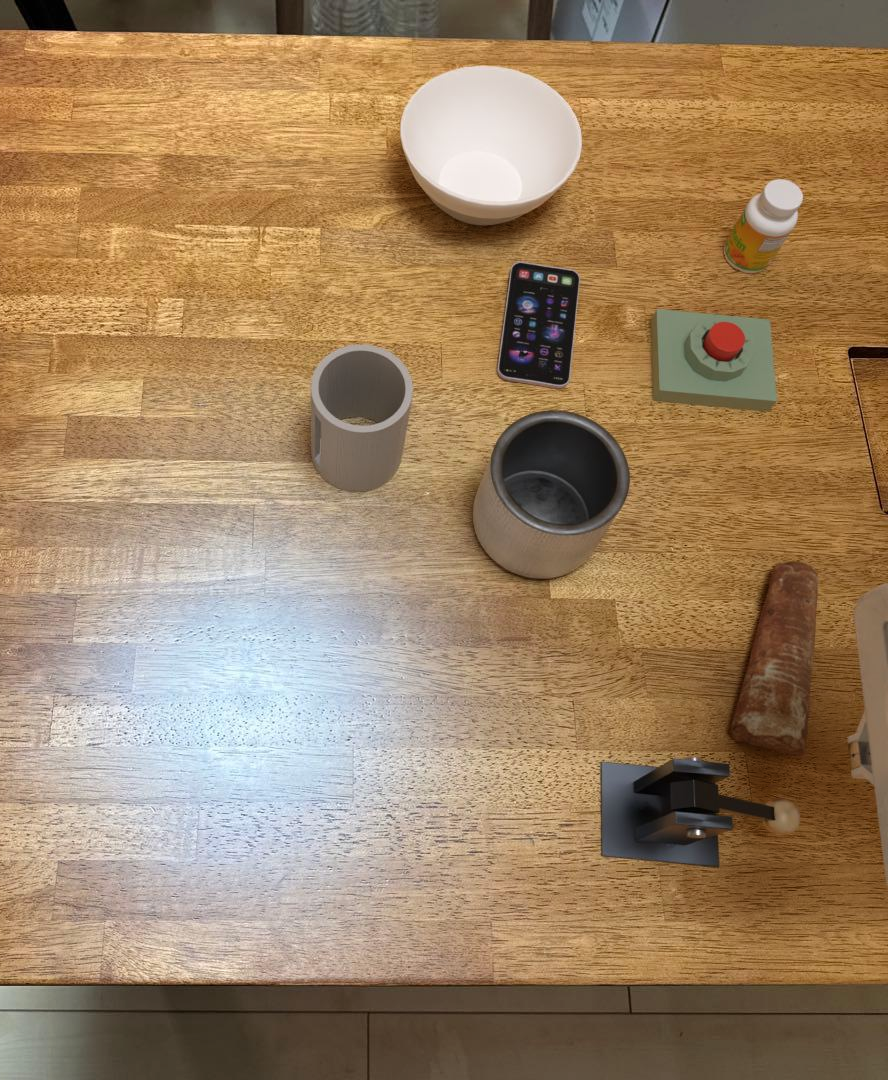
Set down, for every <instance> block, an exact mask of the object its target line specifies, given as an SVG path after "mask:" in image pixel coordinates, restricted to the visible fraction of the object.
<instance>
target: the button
mask: <svg viewBox="0 0 888 1080" xmlns="http://www.w3.org/2000/svg"><path fill="white" fill-rule="evenodd" d="M744 343H745V335H744V333H743V331H742V330H741V329H740V328H739V327H738V326H737V325H735V324H733V323H730V322H719V323H716V324H715V325H713V326H712V328H711V329H710V331H709V332H708V334H707V336H706V337H705V339H704V349H705V351H706V352H707V354H708V355H709V356H711V357H712V358H714V359H716V360H719V361H728V360H731V359H733V358H735V357H736V355H737V354H738V353H739V351H740V350H741V348H742V347H743V345H744Z"/></svg>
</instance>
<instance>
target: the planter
mask: <svg viewBox="0 0 888 1080" xmlns="http://www.w3.org/2000/svg"><path fill="white" fill-rule="evenodd" d="M630 473H631V472H630V467H629V463H628V460H627V456H626V454H625V452H624V450H623V448H622V447H621V445H620V443H619V442H618V441H617V440H616V439H615V437H614V436H613V435H612V434H611V433H610V432H609V431H608V430H607V428H605V427H603V426H602V425H601V424H599V423H597V422H596V421H594V420H593V419H591V418H589V417H587V416H585V415H581V414H579V413H576V412H572V411H568V410H559V409H558V410H557V409H549V410H548V409H547V410H540V411H535V412H532V413H529V414H526V415H524V416H522V417H520V418H518V419H516V420H515V421H513V422H512V423H511V424H509V425H508V426H507V427H505V429H504V430H503V432H502V433H501V434H500V436H499V437H498V438H497V440H496V442H495V444H494V446H493V449H492V452H491V453H490V457H489V459H488V462H487V465H486V468H485V471H484V473H483V476H482V478H481V481H480V483H479V486H478V489H477V491H476V494H475V496H474V500H473V505H472V523H473V529H474V532H475V535H476V537H477V540H478V542H479V544H480V545H481V547H482V549H483V550H484V551H485V553H486V554H487V555H488V556H489V558H491V559H492V560H493V561H494V562H495V563H497V565H499V566H500V567H502V568H504V569H505V570H507V571H508V572H510V573H513V574H514V575H515V574H516V575H518V576H520V577H521V576H522V577H525V578H530V579H536V580H537V579H538V580H539V579H540V580H542V579H543V580H544V579H545V580H547V579H554V578H559V577H562V576H565V575H567V574H570V573H572V572H574V571H575V570H578V568H580V567H581V566H583V564H585V563H586V562H587V561H588V560H589V559H590V558H591V556H592V555H593V554H594V553H595V551H596V550H597V548H598V546H599V545H600V543H601V541H602V540H603V538H604V537H605V535H606V534H607V531H608V530H609V529H610V527H611V525H612V524H613V522H614V521H615V519H616V518H617V516H618V514H619V513H620V512H621V510H622V508H623V506H624V504H625V502H626V500H627V498H628V495H629V490H630V484H631V474H630Z"/></svg>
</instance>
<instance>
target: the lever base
mask: <svg viewBox="0 0 888 1080" xmlns="http://www.w3.org/2000/svg"><path fill="white" fill-rule="evenodd" d="M599 763H600V764H599V766H600V768H599V769H600V771H599V772H600V779H599V781H600V856H601V857H606V858H616V859H626V860H636V861H647V862H659V863H668V864H677V865H687V866H688V865H689V866H698V867H709V868H720V851H719V835H720V834H724V833H727V832H730V831H732V830H733V831H734V824H733V823H734V821H733V816H731V815H720V814H718V813H713V814H701V813H691V812H680V811H674V810H671V789H670V782H674V781H681V780H688V779H696V780H700V781H705V782H709V783H713V784H717V783H719V782H721V781H724V780H725V779H728V778H730V777H731V770H730V763H726V762H725V763H724V762H716V761H706V760H705V761H704V760H703V758H701V757H697V756H688V757H684V758H671V759H670V760H668V761H667V762H665V763H663V764H661V765H660V766H653V765H644V764H643V765H642V764H632V763H621V762H612V761H611V762H609V761H600V762H599Z"/></svg>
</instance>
